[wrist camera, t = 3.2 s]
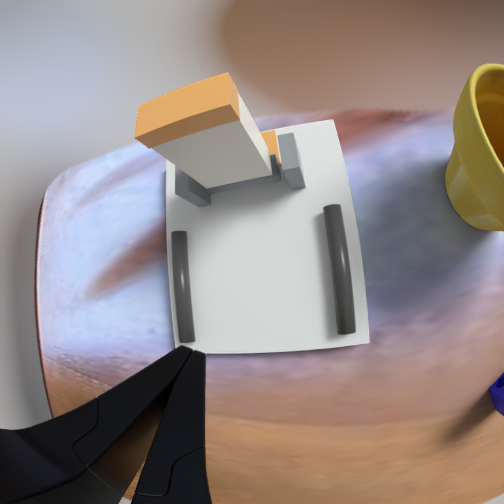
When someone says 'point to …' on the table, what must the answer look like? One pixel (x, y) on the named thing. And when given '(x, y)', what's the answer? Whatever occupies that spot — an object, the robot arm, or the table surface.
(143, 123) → the lever
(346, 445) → the table surface
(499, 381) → the cable clip
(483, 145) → the plant pot
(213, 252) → the white base plate
